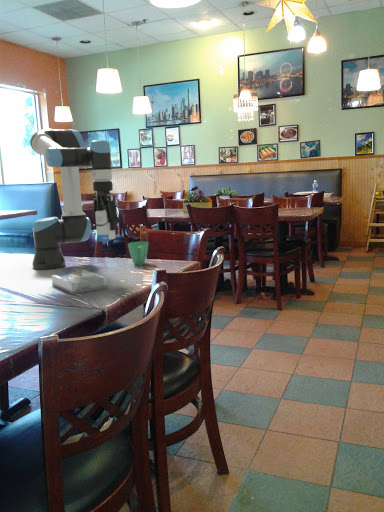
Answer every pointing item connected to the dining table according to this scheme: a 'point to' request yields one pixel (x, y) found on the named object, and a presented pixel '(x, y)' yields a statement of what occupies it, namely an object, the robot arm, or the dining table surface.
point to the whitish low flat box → (81, 283)
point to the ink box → (102, 226)
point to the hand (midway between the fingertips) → (106, 237)
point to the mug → (138, 251)
